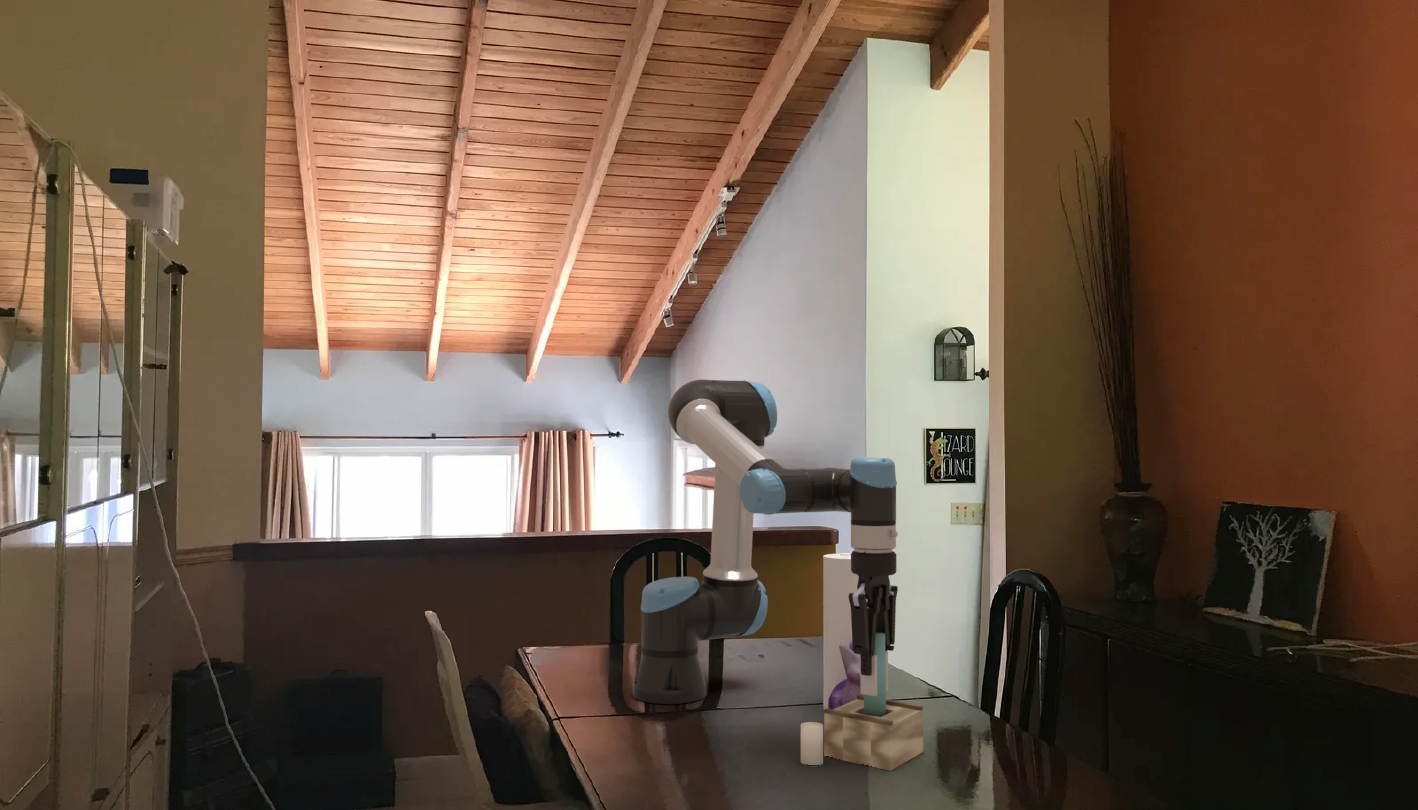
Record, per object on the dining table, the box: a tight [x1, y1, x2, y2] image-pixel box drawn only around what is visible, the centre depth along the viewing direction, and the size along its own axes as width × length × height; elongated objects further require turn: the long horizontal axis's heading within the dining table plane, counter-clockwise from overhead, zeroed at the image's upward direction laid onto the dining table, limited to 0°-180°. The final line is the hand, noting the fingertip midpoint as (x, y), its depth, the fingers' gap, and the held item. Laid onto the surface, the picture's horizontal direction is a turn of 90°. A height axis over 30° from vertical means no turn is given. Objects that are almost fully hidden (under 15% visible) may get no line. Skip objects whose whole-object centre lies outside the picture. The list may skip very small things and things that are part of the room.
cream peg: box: [800, 721, 824, 766], centre depth 159 cm, size 4×4×6 cm
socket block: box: [823, 695, 924, 772], centre depth 163 cm, size 12×12×8 cm
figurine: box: [828, 640, 864, 710], centre depth 181 cm, size 9×10×15 cm
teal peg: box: [864, 632, 887, 717], centre depth 163 cm, size 4×4×15 cm
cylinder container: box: [822, 552, 868, 710], centre depth 191 cm, size 9×9×30 cm
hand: (874, 691), depth 163 cm, fingers closed on teal peg, 3 cm apart
